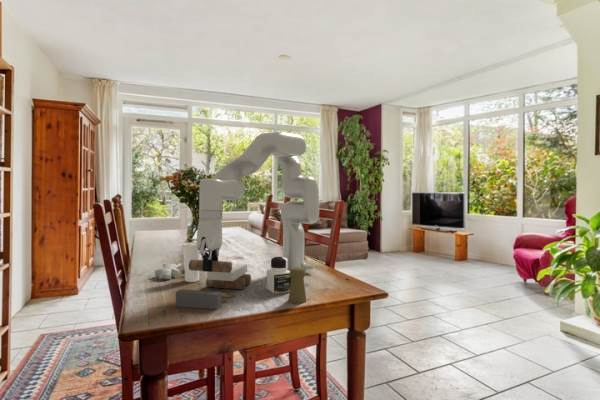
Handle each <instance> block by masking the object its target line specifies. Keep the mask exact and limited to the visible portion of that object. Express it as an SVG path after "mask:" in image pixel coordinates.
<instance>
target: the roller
mask: <svg viewBox="0 0 600 400" xmlns="http://www.w3.org/2000/svg"><path fill="white" fill-rule="evenodd" d="M232 264H233V263H232V262H231V261H225V260H224V261H223V260H222V261H221V260H218V261H212V271H211V272H225V273H230V272H231V270H232ZM189 269H190V270H194V271H199V272H204V271H203V260H202V259H200V260H190V262H189Z"/></svg>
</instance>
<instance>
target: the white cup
mask: <svg viewBox="0 0 600 400" xmlns="http://www.w3.org/2000/svg"><path fill="white" fill-rule="evenodd" d="M182 246H183V247H182V248H183V249H182V253H183V254H182V255H183V256H182V257H183V266H184V267H183V268H184V279H185V280H184V281H185V282H186V283H196V282H198V281H199V280H200V271H194V270H190V269H189V262H190V260H202V255H201V254H200V253H199V250H198V249H197V241H195V242H193V241H192V242H185V243H183V245H182Z"/></svg>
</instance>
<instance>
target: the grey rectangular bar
mask: <svg viewBox="0 0 600 400" xmlns="http://www.w3.org/2000/svg"><path fill="white" fill-rule="evenodd" d="M222 293H223V292H221V291H211V290H210V291H209V290H196V289H185V288H184V289H179V290H177V291H175V307H180V308H181V307H183V308H195V309H204V310H205V309H206V310H216V311H217V310H219V309H220V308H222V305H223V304H222V303H223V302H222V298H223V297H222Z"/></svg>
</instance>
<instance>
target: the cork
mask: <svg viewBox="0 0 600 400" xmlns="http://www.w3.org/2000/svg"><path fill="white" fill-rule="evenodd" d="M290 276H291V285H290V292H288V302H289V303H291V304H294V305H295V304H299V305H300V304H305V303H307V294H306V285H305V276H306V273H305V270H304V269H303V268H301V267H294V268H292V269H291V270H290Z"/></svg>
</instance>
